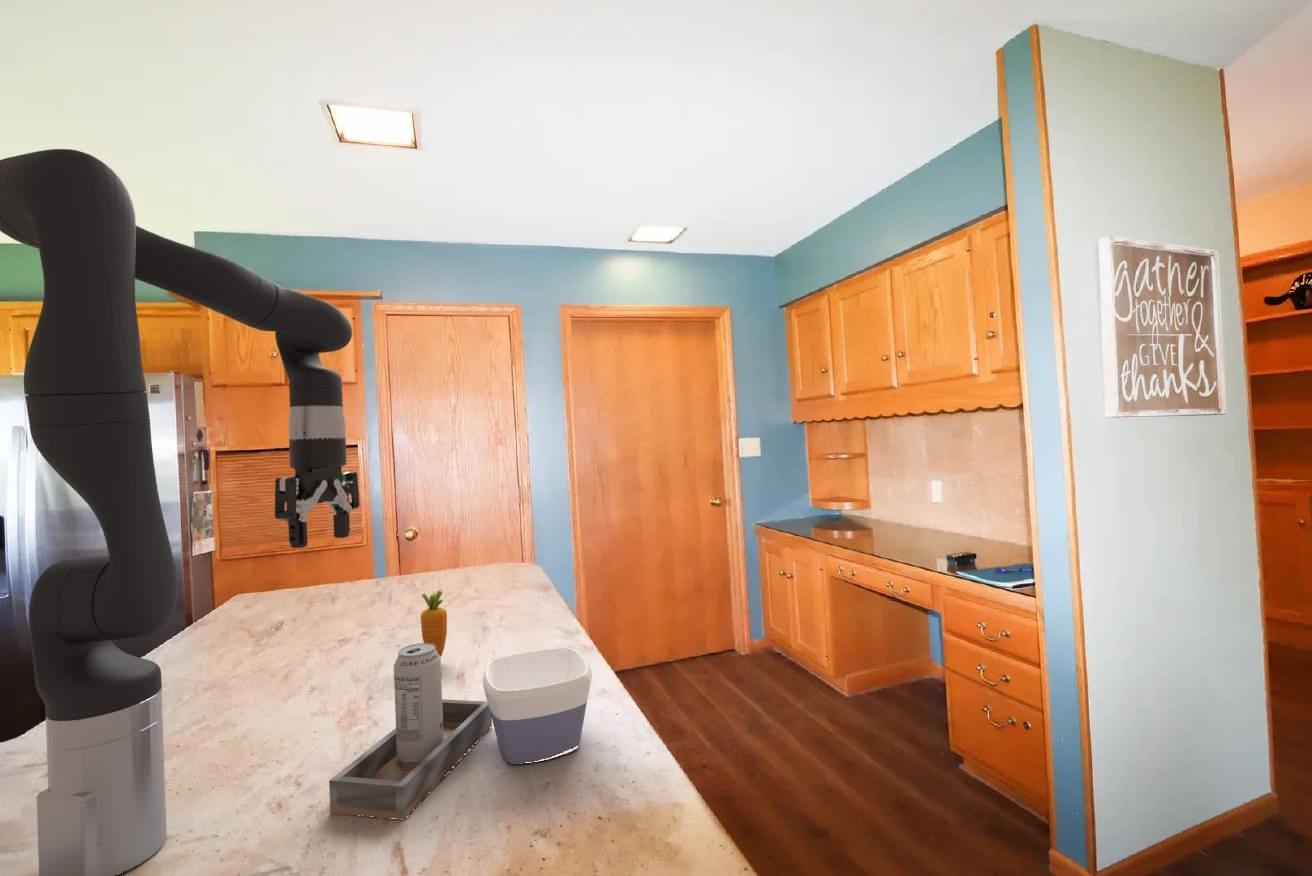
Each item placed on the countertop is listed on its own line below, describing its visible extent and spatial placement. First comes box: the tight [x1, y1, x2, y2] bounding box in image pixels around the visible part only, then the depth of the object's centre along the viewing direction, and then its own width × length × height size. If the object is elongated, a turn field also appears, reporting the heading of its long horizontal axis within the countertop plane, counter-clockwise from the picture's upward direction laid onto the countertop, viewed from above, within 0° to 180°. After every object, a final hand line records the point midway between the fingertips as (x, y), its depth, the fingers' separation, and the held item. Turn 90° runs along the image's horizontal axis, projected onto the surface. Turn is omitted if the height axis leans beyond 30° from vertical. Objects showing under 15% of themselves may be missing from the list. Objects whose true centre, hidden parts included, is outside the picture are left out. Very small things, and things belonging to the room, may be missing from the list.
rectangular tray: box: [328, 698, 493, 819], centre depth 79 cm, size 22×10×4 cm, turn 169°
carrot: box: [420, 589, 448, 659], centre depth 116 cm, size 5×5×15 cm
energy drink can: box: [393, 642, 444, 767], centre depth 79 cm, size 6×6×15 cm
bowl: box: [482, 647, 593, 765], centre depth 84 cm, size 15×15×11 cm
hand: (321, 542), depth 88 cm, fingers open, 8 cm apart
